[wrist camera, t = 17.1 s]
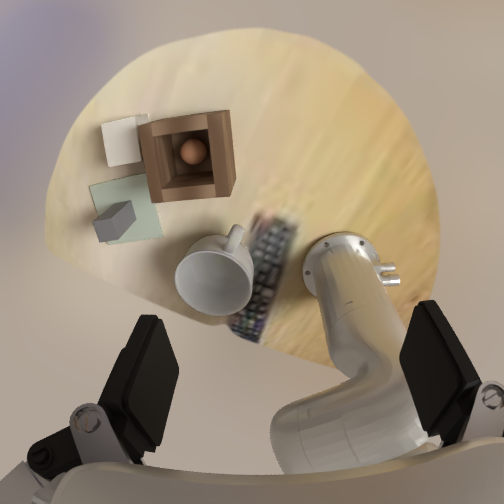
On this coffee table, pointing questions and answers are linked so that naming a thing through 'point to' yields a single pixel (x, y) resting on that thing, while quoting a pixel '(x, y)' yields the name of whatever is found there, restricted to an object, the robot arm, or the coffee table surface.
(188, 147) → the ball
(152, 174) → the brown wooden box
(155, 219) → the lid
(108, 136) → the matte white cube
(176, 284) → the teacup
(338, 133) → the coffee table surface
